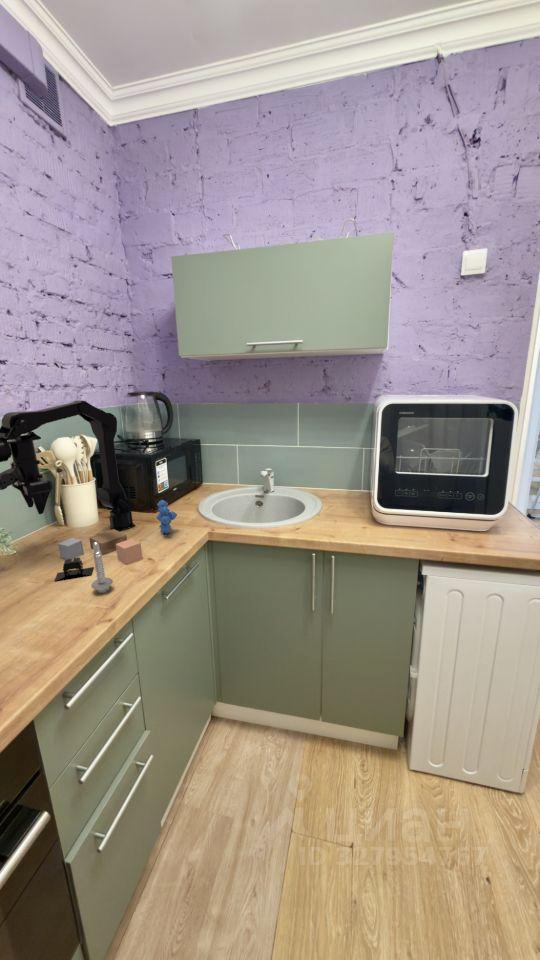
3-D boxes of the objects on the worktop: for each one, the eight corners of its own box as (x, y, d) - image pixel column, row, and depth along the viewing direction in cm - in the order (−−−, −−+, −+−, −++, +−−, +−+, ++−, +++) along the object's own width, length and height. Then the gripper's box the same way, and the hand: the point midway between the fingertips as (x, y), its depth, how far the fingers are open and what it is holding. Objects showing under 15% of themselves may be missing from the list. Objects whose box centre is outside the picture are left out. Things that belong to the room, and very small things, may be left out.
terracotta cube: (134, 554, 117) (131, 538, 116) (142, 559, 114) (140, 542, 113) (117, 560, 114) (115, 544, 112) (126, 565, 110) (124, 548, 109)
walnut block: (115, 540, 128) (114, 529, 127) (128, 547, 123) (126, 535, 122) (91, 549, 122) (89, 537, 121) (102, 556, 117) (100, 543, 116)
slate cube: (74, 551, 120) (71, 537, 119) (83, 554, 118) (81, 540, 117) (60, 557, 117) (57, 543, 116) (70, 560, 115) (67, 546, 113)
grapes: (181, 537, 128) (178, 502, 124) (160, 541, 125) (155, 505, 122) (176, 525, 138) (173, 492, 135) (156, 528, 136) (152, 495, 133)
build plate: (100, 566, 111) (98, 551, 110) (98, 579, 105) (95, 562, 103) (51, 574, 108) (48, 558, 107) (45, 587, 101) (42, 570, 100)
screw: (112, 594, 96) (90, 597, 95) (114, 584, 100) (94, 587, 99) (104, 544, 92) (82, 547, 91) (107, 536, 97) (86, 538, 96)
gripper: (-18, 458, 112) (-5, 511, 116) (-1, 468, 99) (13, 526, 103) (26, 452, 119) (37, 501, 123) (47, 459, 107) (58, 514, 111)
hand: (35, 510), depth 115 cm, fingers open, 9 cm apart
